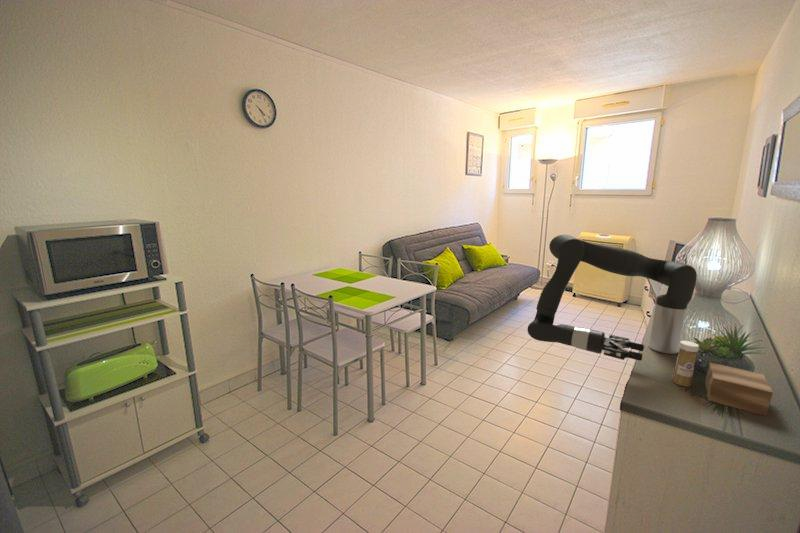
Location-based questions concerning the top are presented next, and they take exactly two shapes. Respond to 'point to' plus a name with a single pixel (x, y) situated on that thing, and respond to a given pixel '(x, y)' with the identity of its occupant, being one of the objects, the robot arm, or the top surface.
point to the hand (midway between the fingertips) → (642, 352)
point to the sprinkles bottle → (685, 363)
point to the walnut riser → (738, 388)
